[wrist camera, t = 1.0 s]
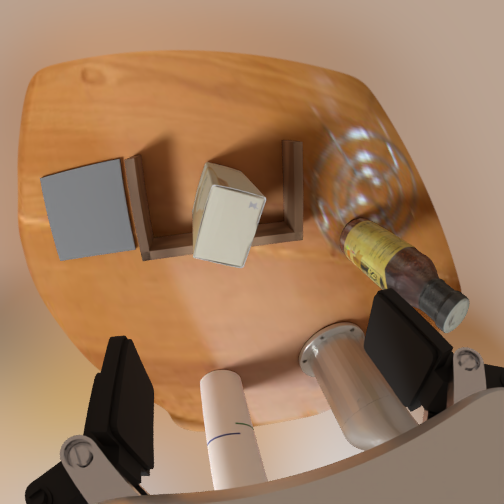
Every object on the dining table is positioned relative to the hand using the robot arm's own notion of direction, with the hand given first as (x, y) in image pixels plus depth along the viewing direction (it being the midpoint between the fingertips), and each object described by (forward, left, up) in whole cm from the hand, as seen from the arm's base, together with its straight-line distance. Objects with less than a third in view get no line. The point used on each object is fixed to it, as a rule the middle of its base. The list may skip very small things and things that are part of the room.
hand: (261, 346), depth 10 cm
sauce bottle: (-19, +8, -25) cm, 33 cm away
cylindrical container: (+3, +32, -25) cm, 41 cm away
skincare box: (0, 0, -25) cm, 25 cm away
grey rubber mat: (+16, 0, -25) cm, 29 cm away
